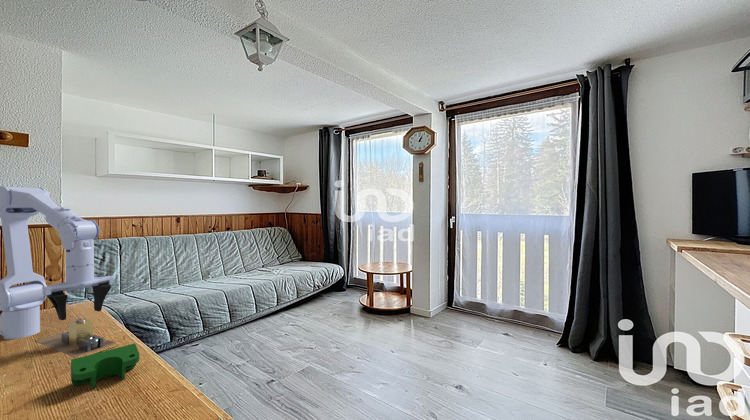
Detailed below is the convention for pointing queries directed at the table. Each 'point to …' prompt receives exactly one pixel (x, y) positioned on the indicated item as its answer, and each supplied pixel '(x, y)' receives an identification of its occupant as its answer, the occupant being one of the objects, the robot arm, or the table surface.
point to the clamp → (104, 365)
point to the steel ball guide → (85, 342)
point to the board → (68, 349)
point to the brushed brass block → (79, 330)
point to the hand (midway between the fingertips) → (80, 314)
